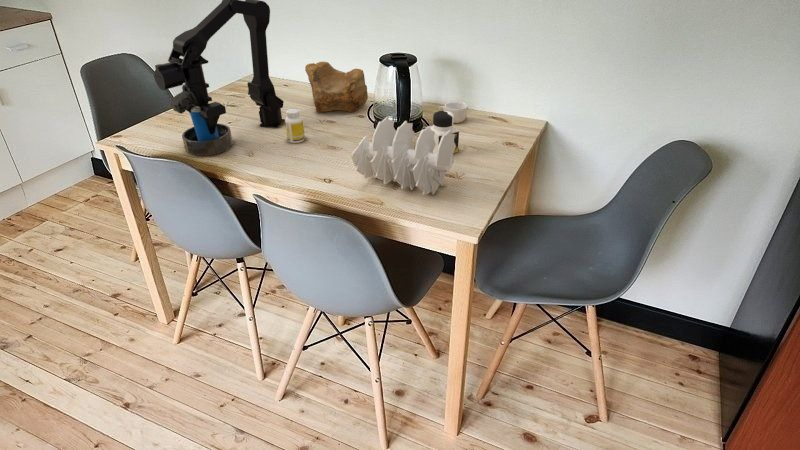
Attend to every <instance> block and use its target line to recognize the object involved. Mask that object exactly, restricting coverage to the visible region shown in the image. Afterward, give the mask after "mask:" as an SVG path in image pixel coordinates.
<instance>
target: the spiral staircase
mask: <svg viewBox="0 0 800 450" xmlns="http://www.w3.org/2000/svg"><path fill="white" fill-rule="evenodd" d="M413 124H414V123H413V122H408V120H404V121H403V123H401V125H400V126H398V127H397V129H395V127H394V126H395V120H391V119H389V116H386V117H385V118H384V119H382V120H380V121H378V122H377V124H376V127H375V130H374V132H373V134H372V140H371V142H370V141H369V138H368V135H367V134H366V135H364V136H363V138H362V139H361V140H360V142H359V144H357V145H356V147H355V148H354V150H353V151H352V153H351V154H350V157H351V159H352V162H353V165H354V167H355V171H356V172H357V173H359V174H360V175H362V176H363V179H364V180H366V179H368V178H369V179H370V178H371V177H373V179H376V178H377V179H379V180H381V181H383V185H386V184H387V185H388V183H390V182H392V181H393V183H396V182H397V183H398V184H399V185H400V186H401V187H400V189H401V190H405V189H408V188H410V190H411V191H413V190H414V189H415V187H416V188H417V189H418V190H420V191H422V196H425V195H427V194H429V193H431V195H434V194H435V193H436V191H437V189H439V186H443V184H444V182H445V178H446V174H447V173H449V172H451V169H452V166H453V164H454V154H455V153H454V150H455V148H456V145H455V143H454V137H455V134H451V130H448V131H447V133H446V134H445V135H442V138H441V140H440V143H439V145H438V148H437V154H436V153H433V150H434V148H435V145H436V143H435V141H434V134H435V132H434V131H432V130H431V126H432V125H428V126H426V127H425V128H424V129H423V128H421V130H420V133H419V134H418V137H417V139H416V141H415V143H414V139H415V137H416V132H415V131H414V130H413Z"/></svg>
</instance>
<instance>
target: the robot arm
mask: <svg viewBox="0 0 800 450" xmlns="http://www.w3.org/2000/svg"><path fill="white" fill-rule="evenodd" d="M236 14H240V15H242V17H243V21H244V23H245V25H246V27H247V28H248V31H249V39H250V40H249V41H250V52H251V65H252V74H253V76H252V79H251V81H247V84H246V85H247V89H248V92H247V95H249V98H250V99H251V101H253V102H254V103H255V105H256V106H259V108H258V109H259V111H258V115H259V122H260V124H259V127H261V128H262V127H263V128H275V129H276V128H277V129H278V128H279V127H280V126H281V125H282V124H283V123H284V122H285V118H283V114H282V108H284V100H283V99H282V98H281V97H279V96H277V94H276V90H275V85H274V84H273V82H272V80H271V78H270V71H269V58H268V45H267V29H268V26H269V25H270V21H271V8H270V6H269V4H268V3H267V2H266V1H264V0H221V2H220V3H219V4H218V5H217V6H216V7H215V8H214V9H213V10H211V11H210V13H209V14H207V16H205V17H204V18H203V19H202V20H201V21H200V22H199V23H198V24H197V25H196V26H194V27H193V28H190V29H188V30H185V31H183V32H181V33H180V34H179V35H177V36H175V38H174V39H173V41H172V49H171V52H170V54H169V56H168V58H167V62H165V63H158V64H155V65H154V67H155V68H154V69H155V70H154V75H153V78H154V81H155V83H156V85H157V87H158V88H159V90H161V91H167V90H169V89H173V88H177V87H181V86H182V87H181V90H182V91H181V92H179V93H177V94H176V95H174V96H173V97H172V98H170V99H169V100H168V104H169V106H170V107H171V108H172V110H173V111H174V112H175V113H176V112H177V114H184V113H185V112H188V113H189V114H190V113H191V108H193V107H195V106H196V107H198V108H201V109H200V112H201V114H202V115H200V117H202V118H203V119H205V121H206V124H207V127H208V130H209V132H210V134H214V132H215V129H216V125H217V123H218V122H219V119H220V117H221V115H225V114H226V113H227V109H226V105H224V104H222V103H219V102H217V101H213V98H212V96H209V91H208V88H210V83H207V82H206V79H205V73H204V68H203V65H206V64H209V60H208V59H206V58H204V56H202V54H203V53H204V51H205V50H206V48H207V45H208V42H209V41H210V40H211V38H212V37H214V35H215V34H216V33H218V32H219V30H221V29H222V28H223V27H224V26H225V25H226V24H227V23H228V22H229V21H230V20H231V19H233V17H234V16H235V15H236ZM212 101H213V102H212ZM209 102H210V103H209Z"/></svg>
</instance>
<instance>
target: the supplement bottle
mask: <svg viewBox="0 0 800 450" xmlns="http://www.w3.org/2000/svg"><path fill="white" fill-rule="evenodd" d="M285 113H286V117H285V118H284V120H285V121H284V122H285V129H286V137H287V141H288V142H289V143H292V144H298V143H299V144H300V143H302V142H304V141H305V137H306V136H305V128H304V119H303V117H302V116H300V113H301V112H300V109H298V108H289V109H287V110H286V112H285Z"/></svg>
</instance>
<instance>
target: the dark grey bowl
mask: <svg viewBox="0 0 800 450" xmlns="http://www.w3.org/2000/svg"><path fill="white" fill-rule="evenodd" d="M217 129H218V133H219V136H220V138H217V139H214V140H209V141H198V138H197V135H196V132H195V128H194V126H191V127H189V128H188V129H186V130H184V131H183V133H182V134H181V137H182V141H183V145H184V149H185V152H187V153H188V154H190V155H193V156H212V155H216V154H219V153H222V152H225V151H227V150H228V149H230V148H231V147H232V146H233V144H234V143H233V142H234V139H233V136H232V130H231V128H230V126H228V125H227V124H224V123H218V122H217Z"/></svg>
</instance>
